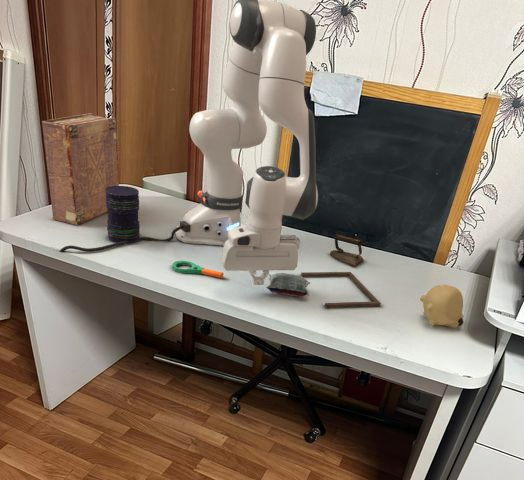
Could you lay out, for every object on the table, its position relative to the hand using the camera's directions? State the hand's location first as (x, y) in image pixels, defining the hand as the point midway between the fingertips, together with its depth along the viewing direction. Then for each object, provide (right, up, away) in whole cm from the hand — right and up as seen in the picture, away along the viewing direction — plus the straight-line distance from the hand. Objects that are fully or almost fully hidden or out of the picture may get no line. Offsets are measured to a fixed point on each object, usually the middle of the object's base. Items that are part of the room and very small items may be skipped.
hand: (257, 284), depth 134 cm
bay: (+23, -1, +8) cm, 25 cm away
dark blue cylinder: (-42, +17, +23) cm, 51 cm away
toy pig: (+48, -11, -1) cm, 49 cm away
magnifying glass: (-17, +4, +8) cm, 19 cm away
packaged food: (+8, -2, +4) cm, 9 cm away
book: (-59, +30, +39) cm, 76 cm away
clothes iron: (+28, +12, +29) cm, 42 cm away
